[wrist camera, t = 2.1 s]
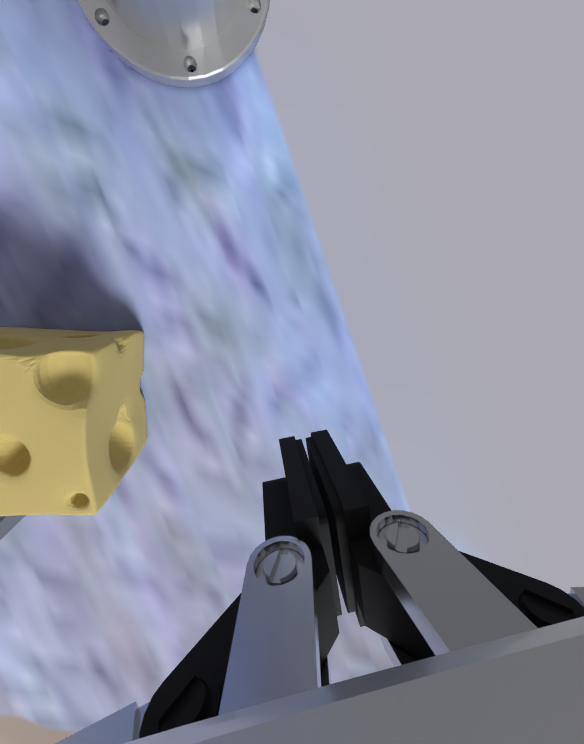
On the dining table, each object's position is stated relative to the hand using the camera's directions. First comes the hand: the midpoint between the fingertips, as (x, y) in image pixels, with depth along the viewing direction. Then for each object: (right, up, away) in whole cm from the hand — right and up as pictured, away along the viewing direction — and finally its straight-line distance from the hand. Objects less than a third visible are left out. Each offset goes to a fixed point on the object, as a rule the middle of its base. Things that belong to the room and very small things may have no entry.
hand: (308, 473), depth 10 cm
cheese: (-18, +2, +16) cm, 24 cm away
